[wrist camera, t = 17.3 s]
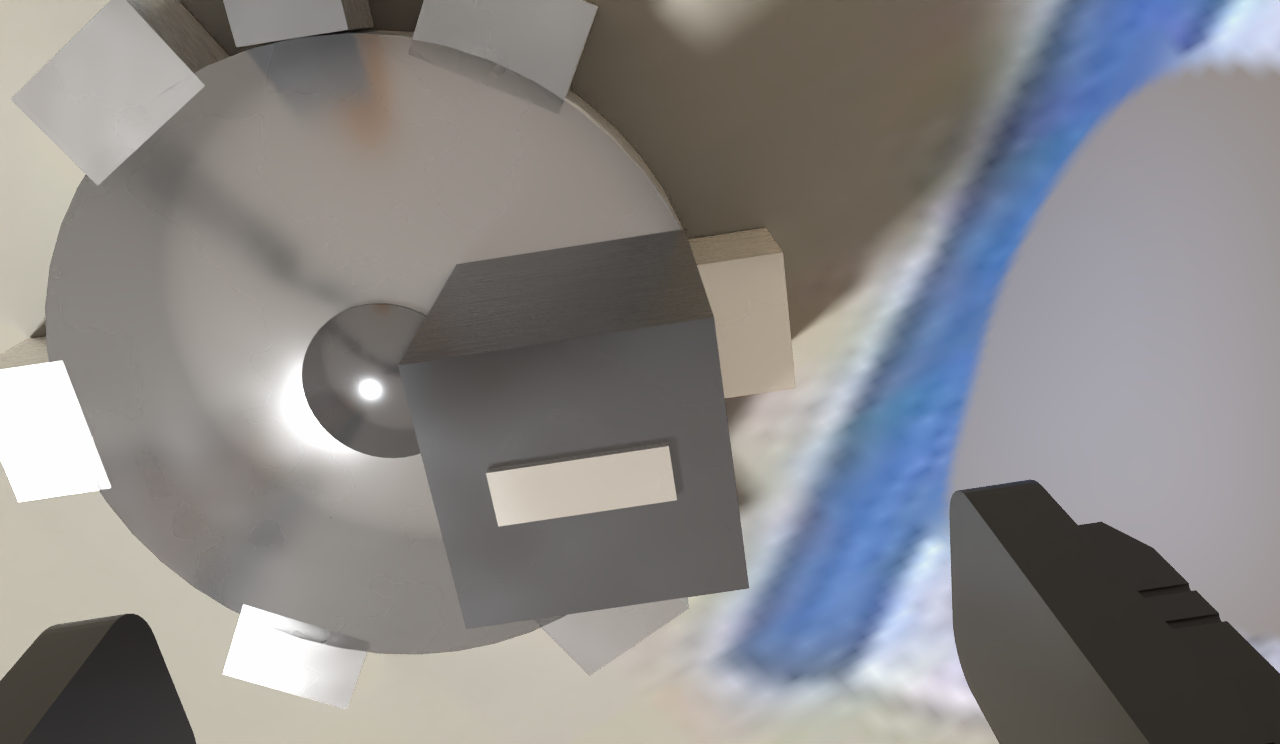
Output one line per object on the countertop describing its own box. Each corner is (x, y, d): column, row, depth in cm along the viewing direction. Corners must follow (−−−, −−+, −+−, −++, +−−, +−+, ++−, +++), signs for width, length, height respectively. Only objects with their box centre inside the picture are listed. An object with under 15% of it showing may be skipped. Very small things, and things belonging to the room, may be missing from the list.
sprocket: (161, 678, 22) (118, 745, 20) (-94, 35, 17) (-185, 40, 15) (802, 588, 22) (821, 646, 20) (733, -96, 17) (749, -109, 15)
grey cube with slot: (502, 468, 18) (465, 633, 13) (456, 264, 17) (395, 367, 12) (713, 437, 18) (750, 593, 13) (684, 228, 17) (714, 319, 12)
